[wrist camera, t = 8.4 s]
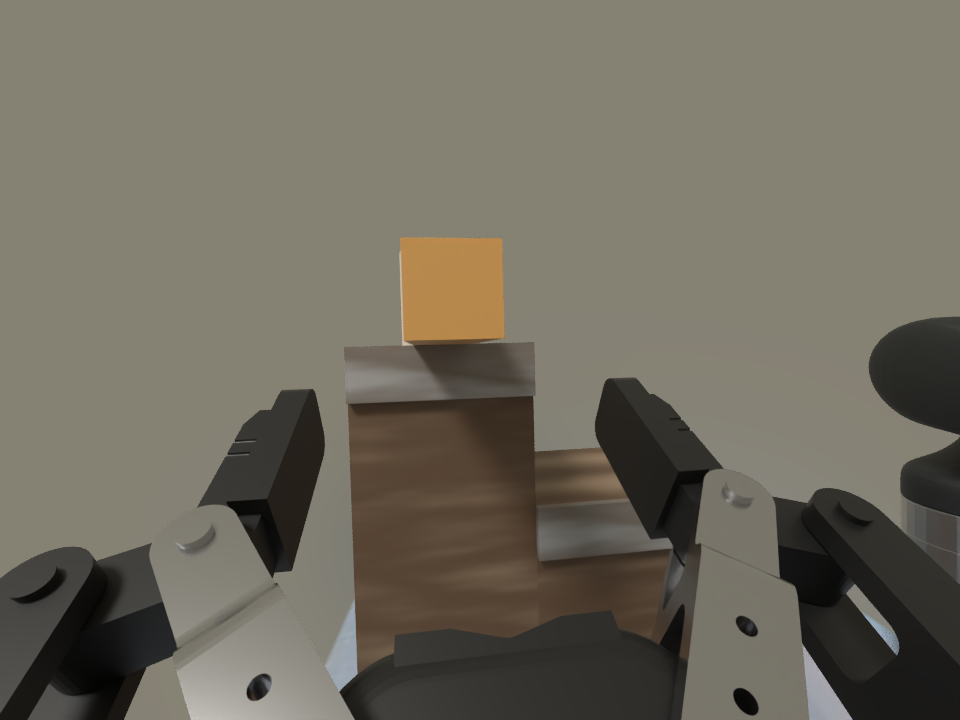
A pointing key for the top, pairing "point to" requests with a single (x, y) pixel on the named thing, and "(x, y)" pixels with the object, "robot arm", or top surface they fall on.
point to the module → (451, 290)
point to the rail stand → (480, 504)
